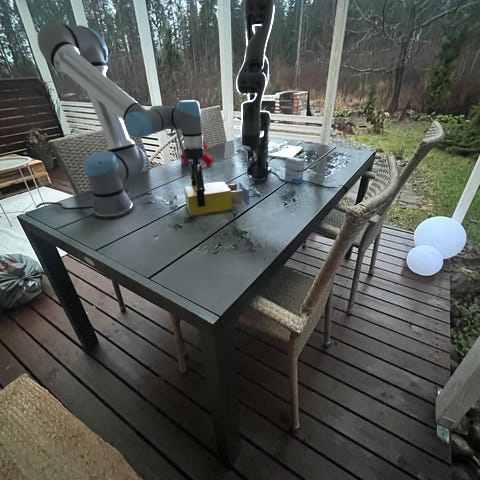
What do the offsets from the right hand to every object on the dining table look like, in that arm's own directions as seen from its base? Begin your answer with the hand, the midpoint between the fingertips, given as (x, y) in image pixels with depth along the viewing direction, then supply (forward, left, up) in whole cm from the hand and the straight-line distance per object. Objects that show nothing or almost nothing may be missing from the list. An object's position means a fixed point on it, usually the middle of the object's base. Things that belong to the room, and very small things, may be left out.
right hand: (250, 175), depth 115 cm
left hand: (+22, +6, -8) cm, 24 cm away
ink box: (-25, -24, -13) cm, 38 cm away
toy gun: (+27, -59, -13) cm, 66 cm away
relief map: (-25, -84, -13) cm, 89 cm away
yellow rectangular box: (+18, +5, -13) cm, 23 cm away
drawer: (+7, +2, -11) cm, 14 cm away
